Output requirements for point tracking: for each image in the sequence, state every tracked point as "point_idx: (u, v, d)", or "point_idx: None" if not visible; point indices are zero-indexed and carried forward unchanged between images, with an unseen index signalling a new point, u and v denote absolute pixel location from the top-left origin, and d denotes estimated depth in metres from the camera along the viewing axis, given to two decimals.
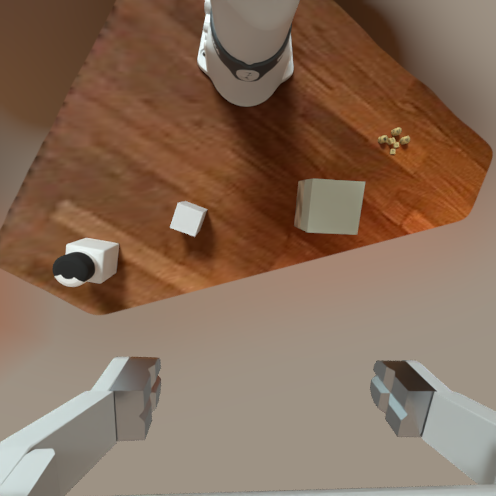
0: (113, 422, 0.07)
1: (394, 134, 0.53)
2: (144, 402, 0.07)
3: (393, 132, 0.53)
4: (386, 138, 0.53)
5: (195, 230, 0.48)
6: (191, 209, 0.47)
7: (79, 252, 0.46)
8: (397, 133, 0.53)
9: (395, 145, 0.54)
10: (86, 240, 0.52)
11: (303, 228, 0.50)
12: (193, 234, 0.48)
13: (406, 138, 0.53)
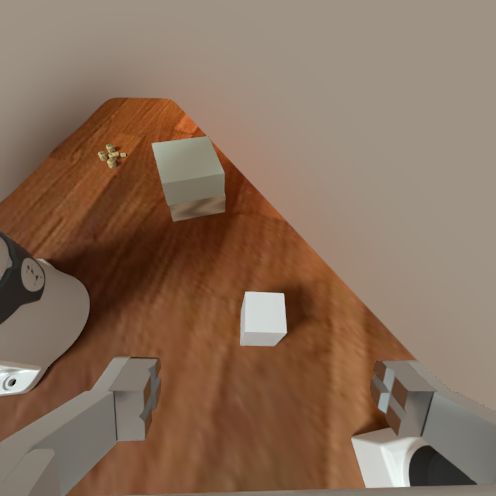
0: (113, 422, 0.07)
1: (105, 156, 0.53)
2: (144, 402, 0.07)
3: (103, 157, 0.52)
4: (110, 159, 0.51)
5: (274, 294, 0.32)
6: (247, 308, 0.31)
7: None
8: (104, 153, 0.52)
9: (116, 154, 0.54)
10: None
11: (222, 185, 0.42)
12: (281, 295, 0.32)
13: (108, 146, 0.53)
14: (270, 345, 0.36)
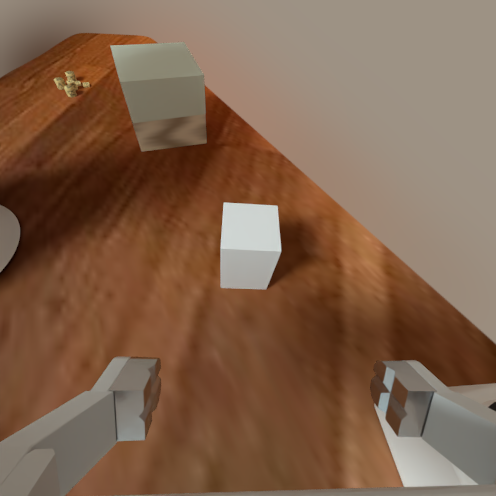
0: (113, 422, 0.07)
1: (63, 84, 0.44)
2: (144, 402, 0.07)
3: (61, 84, 0.43)
4: (68, 85, 0.42)
5: (264, 207, 0.23)
6: (225, 222, 0.22)
7: None
8: (61, 79, 0.43)
9: (78, 83, 0.45)
10: None
11: (202, 96, 0.34)
12: (274, 208, 0.23)
13: (67, 73, 0.44)
14: (261, 287, 0.27)
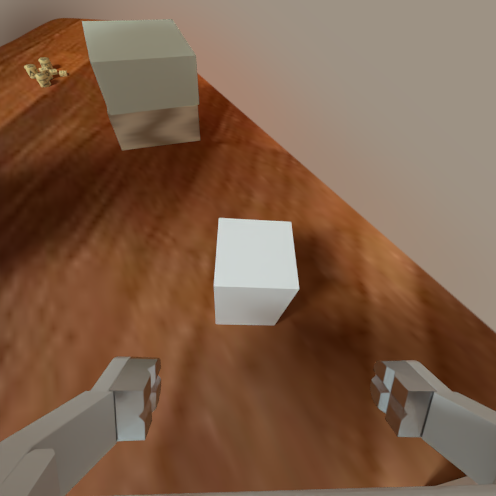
0: (113, 422, 0.07)
1: (36, 71, 0.38)
2: (144, 402, 0.07)
3: (33, 72, 0.37)
4: (40, 73, 0.36)
5: (274, 223, 0.17)
6: (221, 246, 0.16)
7: None
8: (33, 66, 0.37)
9: (53, 71, 0.39)
10: None
11: (194, 82, 0.28)
12: (286, 225, 0.17)
13: (41, 59, 0.38)
14: (267, 323, 0.21)
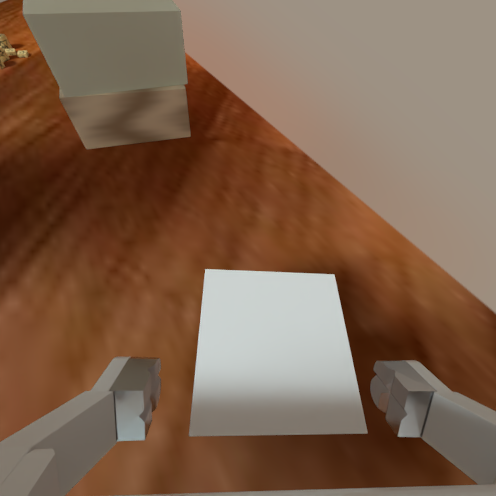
0: (113, 422, 0.07)
1: None
2: (144, 402, 0.07)
3: None
4: None
5: (305, 279, 0.09)
6: (207, 331, 0.08)
7: None
8: None
9: (11, 51, 0.31)
10: None
11: (180, 52, 0.20)
12: (328, 282, 0.09)
13: None
14: None
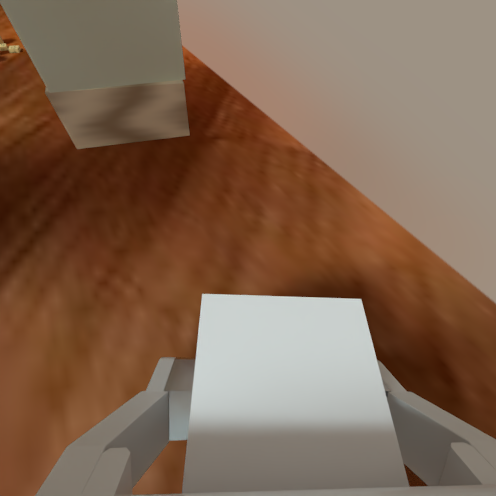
0: (167, 422, 0.07)
1: None
2: None
3: None
4: None
5: (325, 305, 0.08)
6: (204, 378, 0.06)
7: None
8: None
9: (2, 46, 0.30)
10: None
11: (176, 44, 0.19)
12: (353, 309, 0.08)
13: None
14: None
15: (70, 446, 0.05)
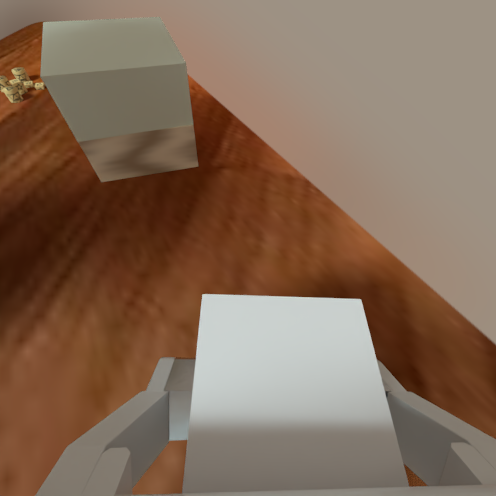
0: (167, 422, 0.07)
1: (7, 84, 0.32)
2: None
3: (3, 85, 0.32)
4: (9, 87, 0.31)
5: (325, 305, 0.08)
6: (204, 378, 0.06)
7: None
8: (3, 78, 0.32)
9: (29, 83, 0.33)
10: None
11: (185, 98, 0.21)
12: (353, 310, 0.08)
13: (15, 70, 0.33)
14: None
15: (70, 446, 0.05)
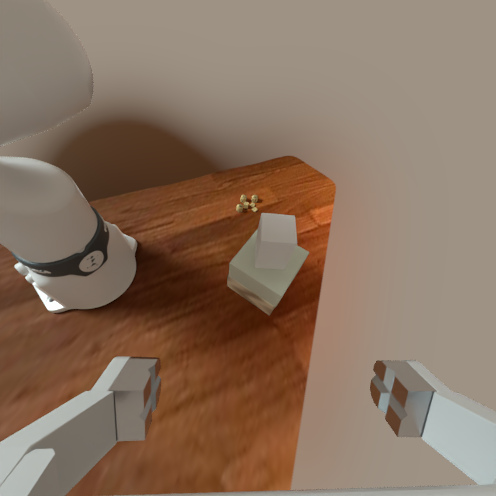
0: (113, 422, 0.07)
1: (244, 200, 0.60)
2: (144, 402, 0.07)
3: (242, 200, 0.60)
4: (240, 205, 0.59)
5: (287, 216, 0.37)
6: (263, 225, 0.35)
7: None
8: (244, 198, 0.60)
9: (252, 205, 0.60)
10: None
11: (276, 301, 0.41)
12: (292, 217, 0.37)
13: (253, 196, 0.61)
14: (281, 268, 0.41)
15: None
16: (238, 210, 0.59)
